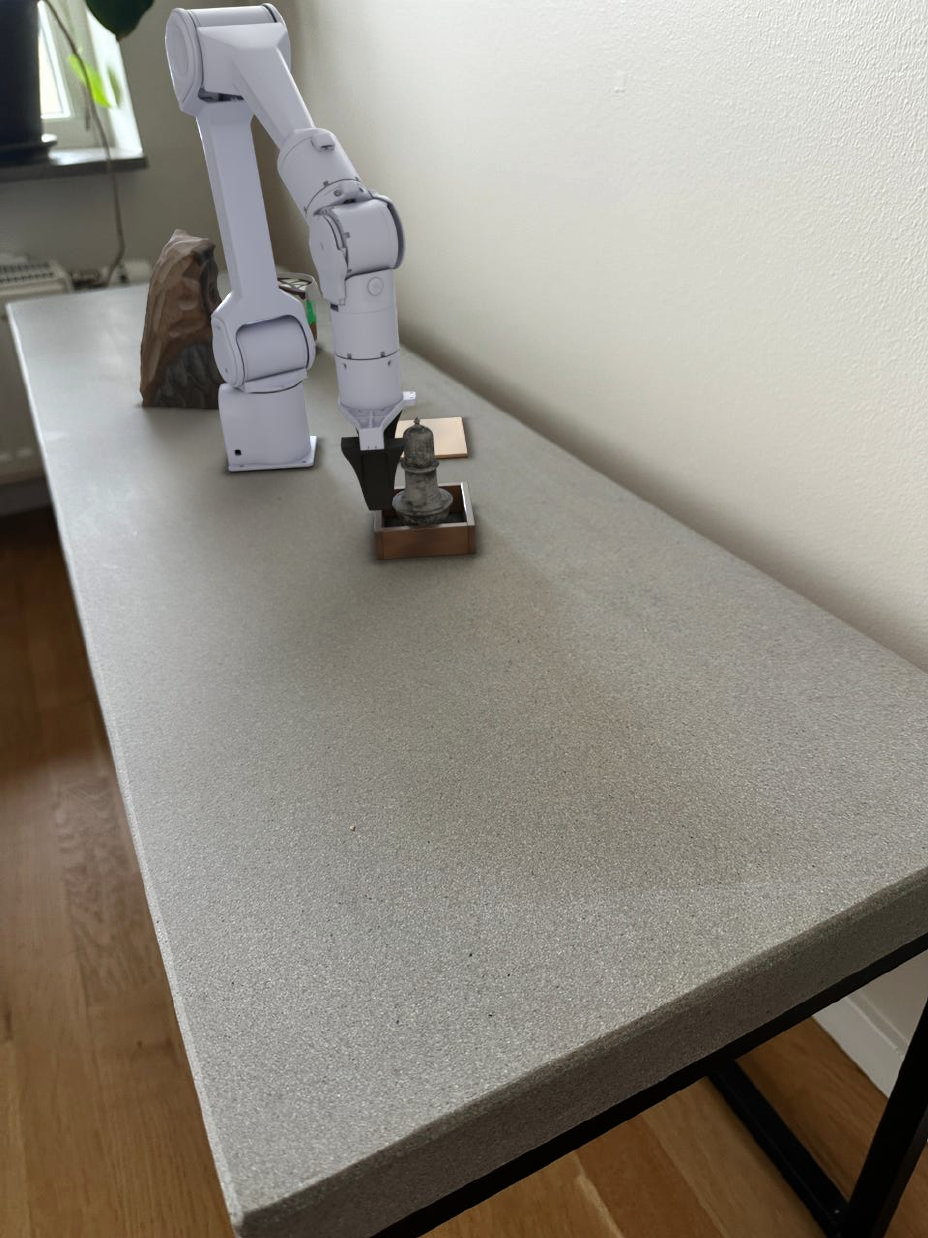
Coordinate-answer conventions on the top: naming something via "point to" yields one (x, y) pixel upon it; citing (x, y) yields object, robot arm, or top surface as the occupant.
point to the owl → (181, 327)
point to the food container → (302, 295)
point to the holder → (428, 530)
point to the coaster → (441, 435)
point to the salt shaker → (421, 481)
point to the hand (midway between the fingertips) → (380, 490)
